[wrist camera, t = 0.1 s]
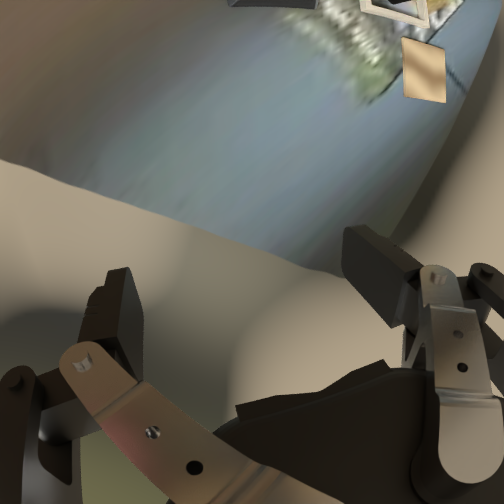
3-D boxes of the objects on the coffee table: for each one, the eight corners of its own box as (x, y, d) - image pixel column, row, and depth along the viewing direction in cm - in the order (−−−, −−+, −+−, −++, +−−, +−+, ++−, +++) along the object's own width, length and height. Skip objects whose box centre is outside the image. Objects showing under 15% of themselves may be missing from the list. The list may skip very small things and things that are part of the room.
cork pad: (401, 37, 34) (403, 37, 34) (441, 49, 36) (444, 49, 36) (403, 96, 39) (406, 96, 39) (443, 102, 41) (445, 103, 41)
